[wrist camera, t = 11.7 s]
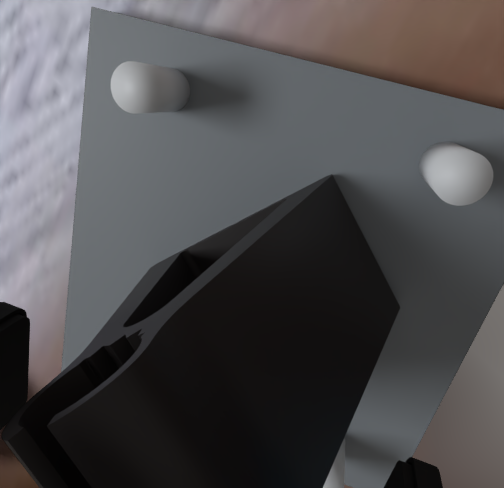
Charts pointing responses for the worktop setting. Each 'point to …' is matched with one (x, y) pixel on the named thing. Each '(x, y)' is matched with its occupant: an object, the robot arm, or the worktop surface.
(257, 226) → the phone stand
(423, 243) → the base plate
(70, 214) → the worktop surface
